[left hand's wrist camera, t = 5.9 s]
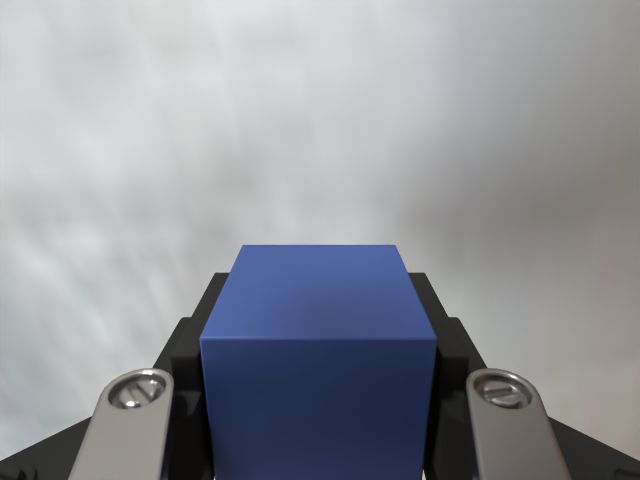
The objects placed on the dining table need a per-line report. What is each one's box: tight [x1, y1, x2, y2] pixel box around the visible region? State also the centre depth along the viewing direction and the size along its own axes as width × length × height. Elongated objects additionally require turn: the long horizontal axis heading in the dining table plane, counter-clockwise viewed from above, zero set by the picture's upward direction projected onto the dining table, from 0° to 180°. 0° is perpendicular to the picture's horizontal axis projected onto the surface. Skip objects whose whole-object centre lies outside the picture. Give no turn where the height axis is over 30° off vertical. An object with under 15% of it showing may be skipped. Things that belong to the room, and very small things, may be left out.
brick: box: [199, 245, 437, 480], centre depth 10 cm, size 4×4×4 cm
